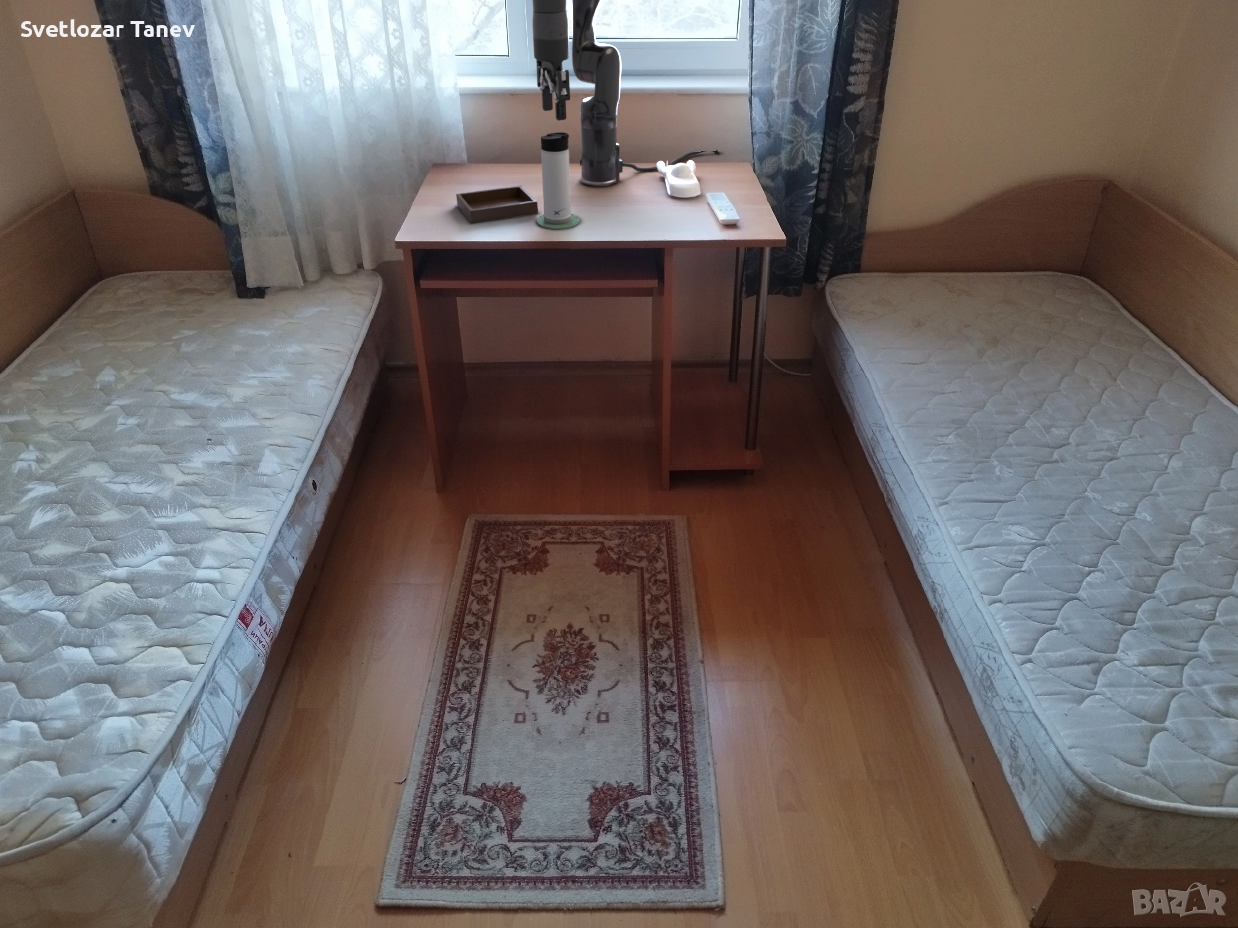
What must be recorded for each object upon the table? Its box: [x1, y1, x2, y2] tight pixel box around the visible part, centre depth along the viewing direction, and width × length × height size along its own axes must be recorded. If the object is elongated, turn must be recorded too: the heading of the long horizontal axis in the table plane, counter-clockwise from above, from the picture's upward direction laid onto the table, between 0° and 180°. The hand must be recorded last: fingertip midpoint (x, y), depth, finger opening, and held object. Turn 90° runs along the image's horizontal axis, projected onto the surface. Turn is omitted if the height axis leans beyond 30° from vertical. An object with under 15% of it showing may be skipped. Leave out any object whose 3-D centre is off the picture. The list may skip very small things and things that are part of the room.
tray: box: [455, 185, 539, 224], centre depth 211 cm, size 17×13×3 cm
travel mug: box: [540, 131, 572, 224], centre depth 200 cm, size 6×7×20 cm
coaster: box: [536, 213, 580, 230], centre depth 206 cm, size 10×10×1 cm
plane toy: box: [655, 159, 702, 199], centre depth 225 cm, size 10×20×6 cm, turn 5°
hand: (554, 115), depth 192 cm, fingers open, 8 cm apart
